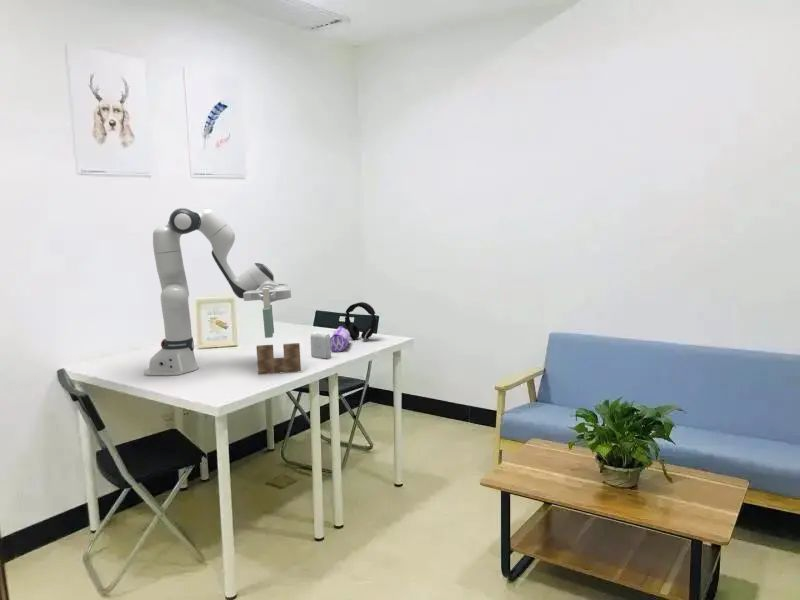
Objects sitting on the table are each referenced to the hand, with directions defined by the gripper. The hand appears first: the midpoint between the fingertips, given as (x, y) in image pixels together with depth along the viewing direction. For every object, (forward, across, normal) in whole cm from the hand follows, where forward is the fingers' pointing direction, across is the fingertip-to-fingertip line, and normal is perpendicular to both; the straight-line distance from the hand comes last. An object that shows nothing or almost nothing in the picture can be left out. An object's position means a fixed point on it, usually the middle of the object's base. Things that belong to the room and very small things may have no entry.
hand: (266, 296), depth 262 cm
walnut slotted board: (0, +3, +33) cm, 33 cm away
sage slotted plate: (-1, 0, +16) cm, 17 cm away
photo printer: (-23, +21, +34) cm, 46 cm away
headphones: (-55, +42, +35) cm, 78 cm away
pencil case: (-41, +31, +34) cm, 62 cm away
